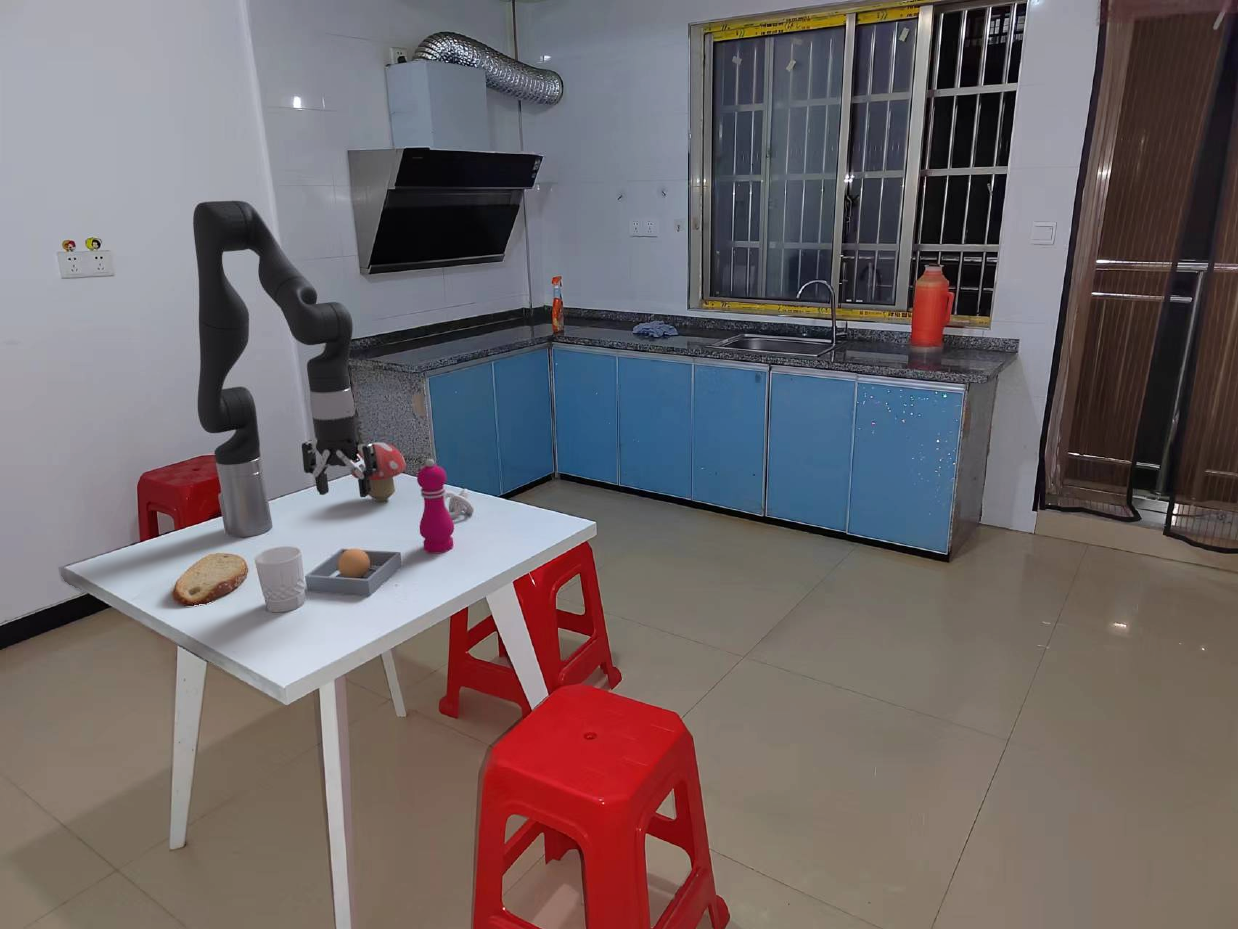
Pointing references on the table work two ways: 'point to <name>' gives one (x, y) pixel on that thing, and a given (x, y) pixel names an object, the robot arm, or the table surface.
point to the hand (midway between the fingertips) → (344, 494)
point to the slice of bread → (210, 579)
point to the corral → (353, 586)
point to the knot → (458, 503)
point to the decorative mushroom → (384, 471)
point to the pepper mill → (434, 510)
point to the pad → (362, 576)
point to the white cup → (281, 578)
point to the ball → (353, 563)
